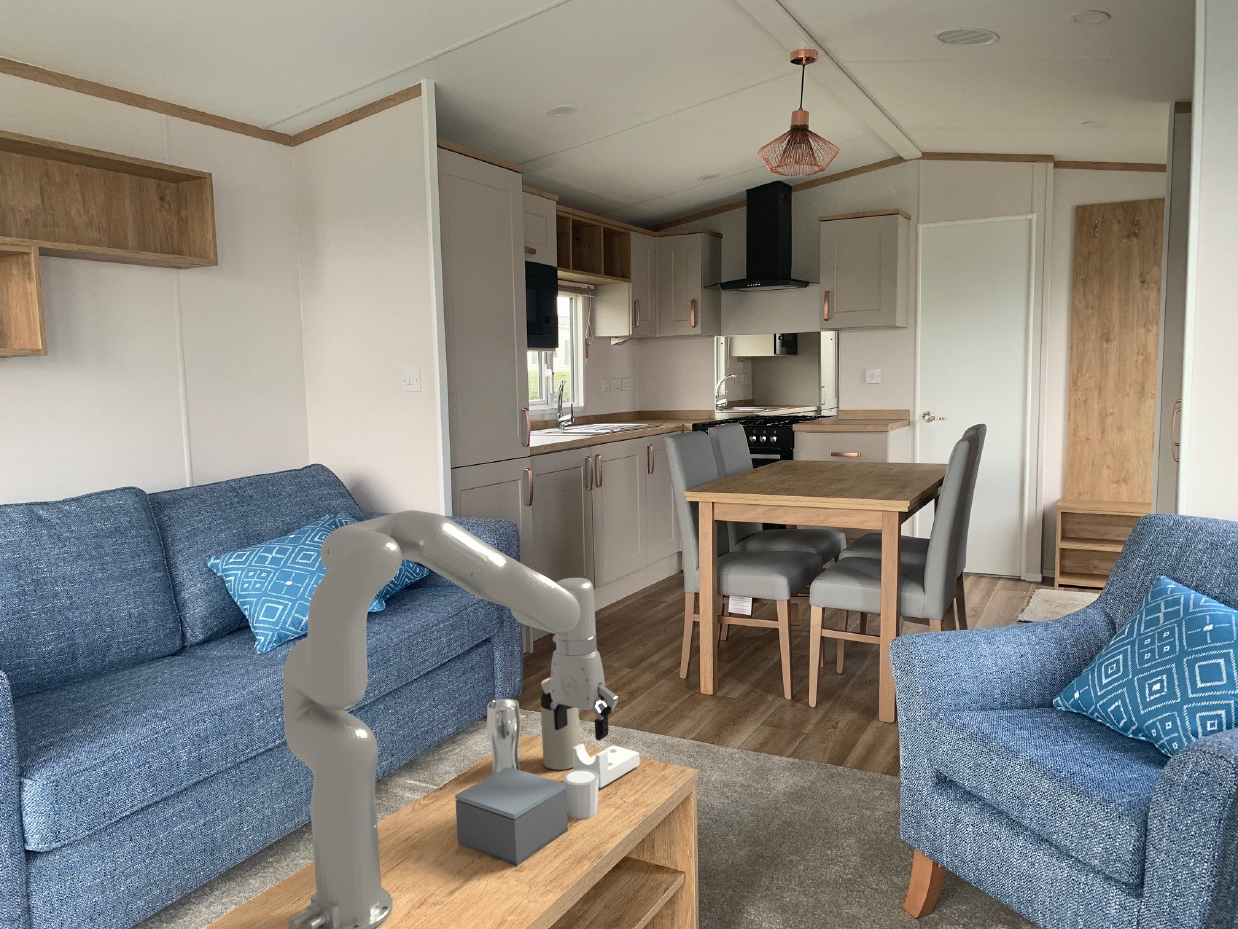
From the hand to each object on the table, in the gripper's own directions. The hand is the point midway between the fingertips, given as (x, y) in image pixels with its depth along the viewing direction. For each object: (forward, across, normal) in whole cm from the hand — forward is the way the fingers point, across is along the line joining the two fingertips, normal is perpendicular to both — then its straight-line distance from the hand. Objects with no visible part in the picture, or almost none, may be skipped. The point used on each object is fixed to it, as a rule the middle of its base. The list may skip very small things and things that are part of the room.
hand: (581, 732), depth 164 cm
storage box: (+15, -5, -15) cm, 22 cm away
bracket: (+16, -5, +15) cm, 22 cm away
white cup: (+16, 0, -1) cm, 16 cm away
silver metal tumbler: (+16, -24, +4) cm, 29 cm away
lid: (+7, -5, -15) cm, 17 cm away
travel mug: (+16, -17, +14) cm, 27 cm away
